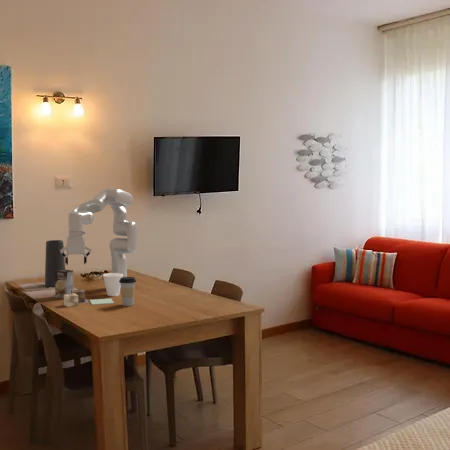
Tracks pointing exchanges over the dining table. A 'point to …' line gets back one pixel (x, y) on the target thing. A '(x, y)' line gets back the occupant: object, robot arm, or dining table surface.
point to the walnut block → (80, 295)
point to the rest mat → (101, 301)
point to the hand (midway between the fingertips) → (76, 264)
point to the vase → (53, 261)
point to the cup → (112, 283)
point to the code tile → (85, 301)
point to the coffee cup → (127, 290)
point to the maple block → (70, 300)
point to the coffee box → (63, 283)
